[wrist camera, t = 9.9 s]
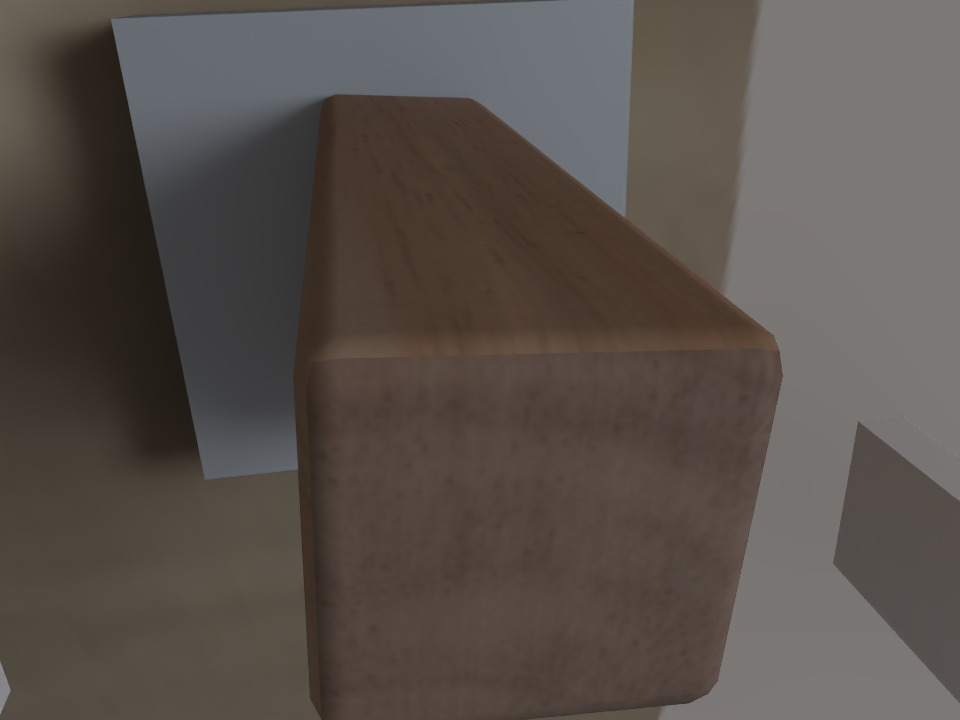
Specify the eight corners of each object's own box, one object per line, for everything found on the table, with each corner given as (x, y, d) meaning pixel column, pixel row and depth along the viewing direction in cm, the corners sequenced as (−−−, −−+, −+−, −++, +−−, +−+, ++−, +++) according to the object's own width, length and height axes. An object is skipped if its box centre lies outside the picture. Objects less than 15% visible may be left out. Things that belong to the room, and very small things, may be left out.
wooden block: (469, 381, 27) (669, 966, 11) (330, 385, 26) (325, 1019, 10) (481, 96, 23) (810, 340, 7) (320, 92, 23) (289, 351, 7)
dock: (215, 438, 30) (204, 484, 27) (133, 13, 24) (108, 16, 21) (595, 398, 32) (620, 436, 29) (607, -6, 26) (639, -5, 23)
